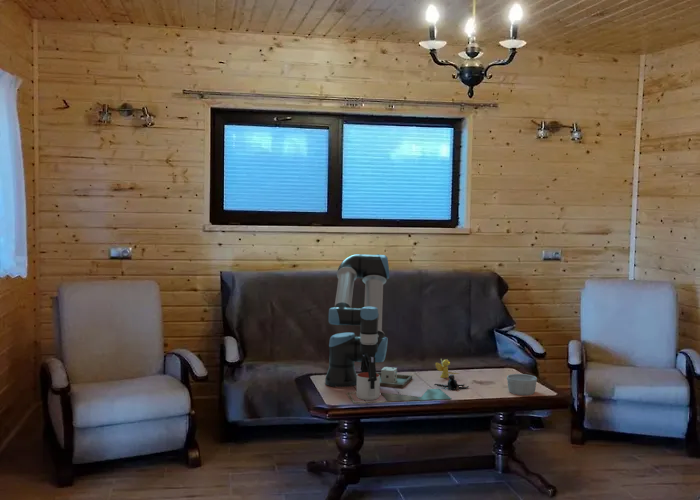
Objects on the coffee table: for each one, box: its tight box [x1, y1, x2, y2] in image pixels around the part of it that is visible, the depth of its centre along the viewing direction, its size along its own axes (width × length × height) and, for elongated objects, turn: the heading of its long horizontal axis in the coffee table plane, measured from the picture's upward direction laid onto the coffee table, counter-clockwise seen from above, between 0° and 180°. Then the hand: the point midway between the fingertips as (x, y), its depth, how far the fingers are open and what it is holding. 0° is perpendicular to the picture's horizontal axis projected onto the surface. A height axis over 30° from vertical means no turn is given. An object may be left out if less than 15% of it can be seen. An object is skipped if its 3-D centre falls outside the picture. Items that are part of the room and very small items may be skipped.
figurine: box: [434, 358, 460, 379], centre depth 344 cm, size 12×12×9 cm
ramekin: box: [506, 373, 538, 396], centre depth 320 cm, size 13×13×7 cm
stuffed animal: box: [433, 374, 469, 391], centre depth 327 cm, size 12×10×12 cm
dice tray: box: [376, 371, 413, 389], centre depth 334 cm, size 18×18×2 cm
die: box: [380, 366, 398, 383], centre depth 333 cm, size 6×6×6 cm
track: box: [345, 388, 452, 405], centre depth 310 cm, size 43×16×1 cm, turn 101°
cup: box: [355, 372, 381, 401], centre depth 307 cm, size 10×10×10 cm
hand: (368, 391), depth 307 cm, fingers open, 13 cm apart
